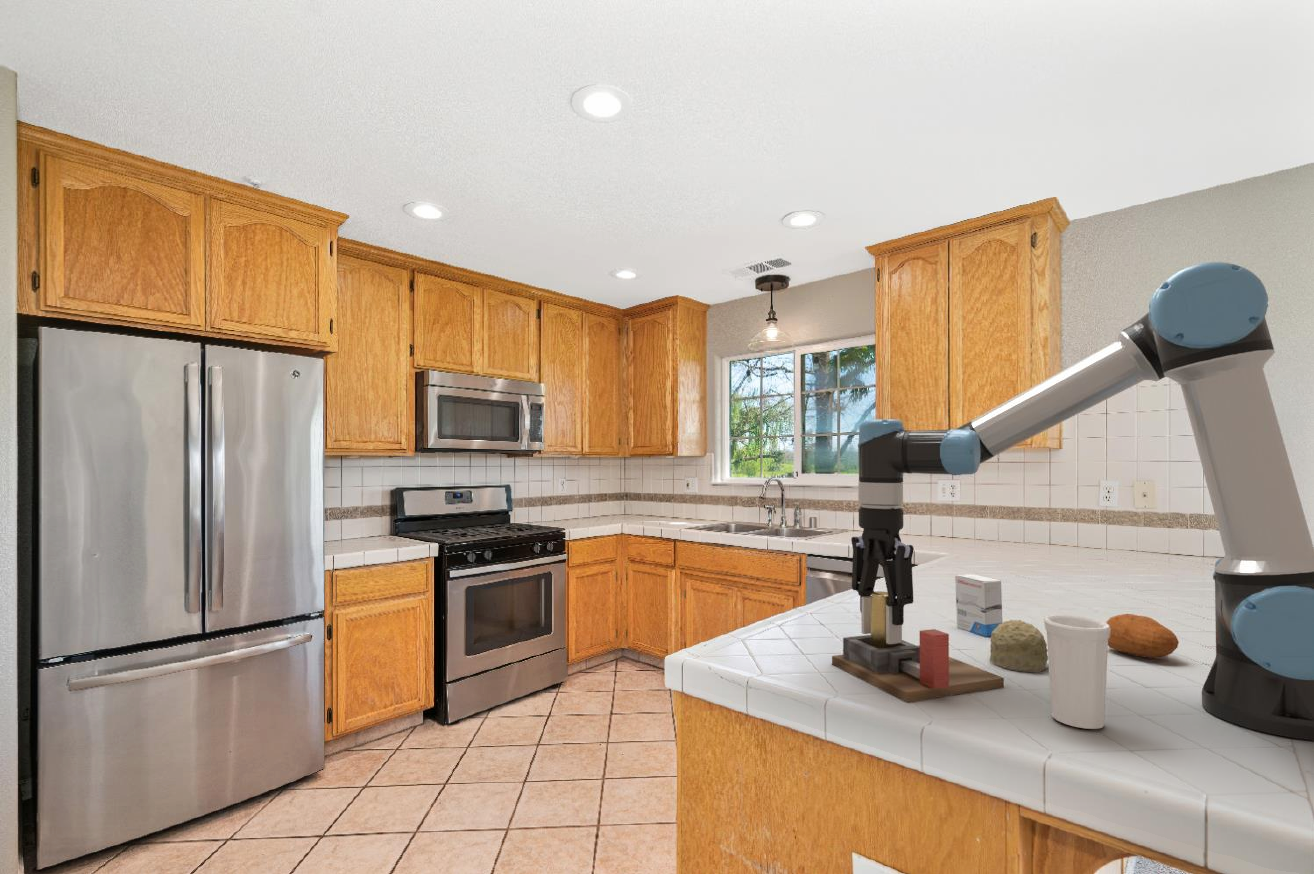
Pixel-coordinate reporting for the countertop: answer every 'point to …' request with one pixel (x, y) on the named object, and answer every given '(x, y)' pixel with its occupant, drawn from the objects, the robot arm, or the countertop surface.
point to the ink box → (978, 603)
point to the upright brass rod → (879, 620)
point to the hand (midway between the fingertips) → (881, 637)
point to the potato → (1140, 636)
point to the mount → (886, 675)
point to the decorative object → (1018, 647)
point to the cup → (1077, 669)
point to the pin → (930, 660)
